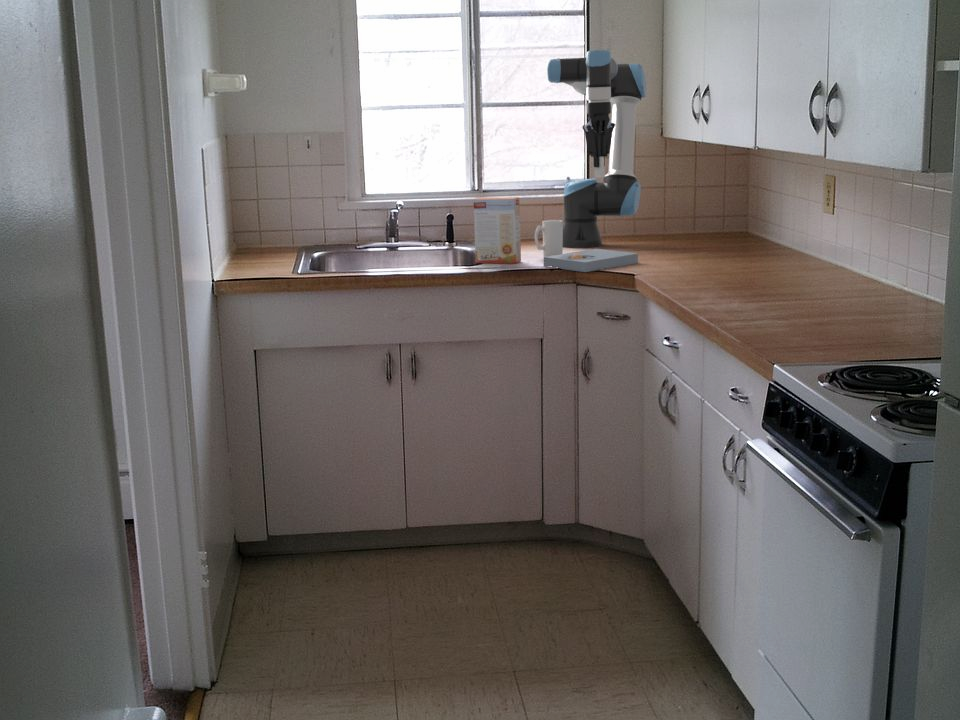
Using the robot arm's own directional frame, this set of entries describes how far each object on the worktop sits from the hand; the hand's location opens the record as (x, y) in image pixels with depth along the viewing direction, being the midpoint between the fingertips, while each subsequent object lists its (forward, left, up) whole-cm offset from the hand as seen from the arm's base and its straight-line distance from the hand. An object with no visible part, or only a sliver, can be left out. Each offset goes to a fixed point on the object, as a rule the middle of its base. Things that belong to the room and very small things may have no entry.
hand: (599, 177), depth 332 cm
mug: (+7, -17, -27) cm, 32 cm away
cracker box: (+25, -22, -27) cm, 42 cm away
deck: (+10, +5, -26) cm, 29 cm away
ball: (+15, +5, -24) cm, 29 cm away
